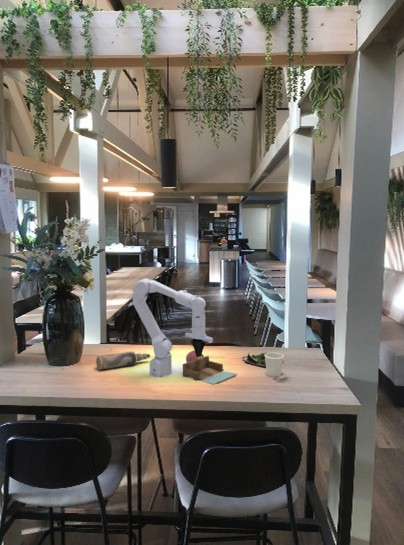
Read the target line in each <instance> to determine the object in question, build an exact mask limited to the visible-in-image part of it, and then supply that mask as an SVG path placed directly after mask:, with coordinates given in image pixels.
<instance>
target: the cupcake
mask: <svg viewBox="0 0 404 545" xmlns="http://www.w3.org/2000/svg"><path fill="white" fill-rule="evenodd" d="M202 357H205V355H204V354H203V353H202V356H200V357H196V353H195V350H191V351H189V352H188V353H187V354H186V356H185V361H186V362H185V363H187V362H190V361H193V360H196V359H199V358H202Z"/></svg>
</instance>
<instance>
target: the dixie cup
mask: <svg viewBox="0 0 404 545" xmlns="http://www.w3.org/2000/svg"><path fill="white" fill-rule="evenodd" d="M265 353H266V352H265ZM264 356H265V361H266V368H265V369H266V375H267V376H268V377H275V378H273V379H272V380H273V381H274V380H275V381H276V380H280V379H281V375H282V370H283V362H284V357H285V356H284V354H283V353H279V352H270V353H269V352H267V353H266V354H265V355H264Z"/></svg>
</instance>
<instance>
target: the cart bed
mask: <svg viewBox="0 0 404 545" xmlns="http://www.w3.org/2000/svg"><path fill="white" fill-rule="evenodd" d="M222 372H224V366H223V363H219V362H216V361H212V360H210V356H209V355H204V357H202V358H199V359H196V360H193V361H190V362H185V363H183V364H182V377H184V378H191V379H193V381H196V382H198V381H200V382H202V380H204V379H207V378H209V377H212V376H214V375H217V374H219V373H222Z"/></svg>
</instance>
